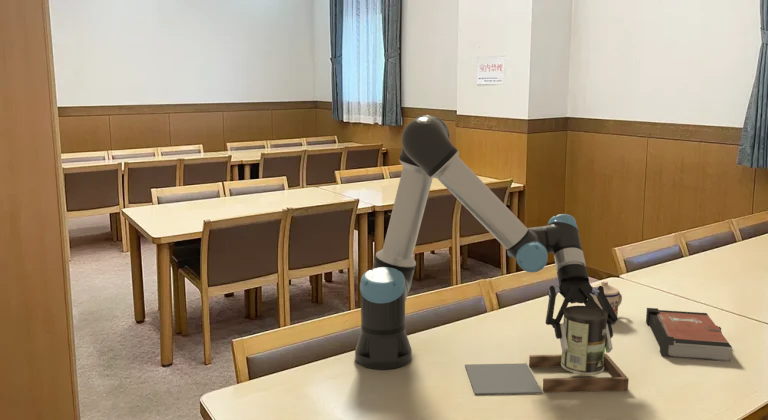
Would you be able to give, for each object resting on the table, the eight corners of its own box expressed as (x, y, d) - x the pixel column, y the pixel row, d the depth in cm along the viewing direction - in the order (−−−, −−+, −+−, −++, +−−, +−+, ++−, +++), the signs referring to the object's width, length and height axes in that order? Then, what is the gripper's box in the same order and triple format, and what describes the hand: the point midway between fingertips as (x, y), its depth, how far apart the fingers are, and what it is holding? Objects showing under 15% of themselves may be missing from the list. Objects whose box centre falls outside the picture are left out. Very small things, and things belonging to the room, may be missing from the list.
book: (733, 363, 169) (735, 345, 168) (661, 358, 173) (663, 340, 172) (707, 327, 194) (709, 311, 193) (645, 323, 198) (646, 307, 197)
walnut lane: (543, 392, 153) (544, 380, 153) (529, 365, 168) (529, 355, 167) (627, 390, 154) (628, 378, 153) (605, 364, 168) (606, 353, 168)
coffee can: (601, 359, 164) (604, 306, 161) (606, 377, 154) (610, 321, 152) (559, 356, 166) (562, 303, 164) (561, 373, 156) (564, 318, 154)
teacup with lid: (602, 324, 196) (604, 287, 194) (581, 315, 204) (582, 279, 202) (631, 318, 201) (633, 282, 199) (609, 309, 209) (611, 274, 207)
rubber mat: (474, 394, 152) (474, 393, 152) (464, 365, 168) (465, 364, 168) (542, 393, 153) (542, 392, 153) (526, 364, 168) (526, 363, 168)
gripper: (610, 275, 172) (628, 356, 160) (525, 276, 172) (537, 356, 159) (619, 262, 166) (639, 344, 153) (531, 262, 165) (544, 344, 153)
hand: (587, 350), depth 156 cm, fingers closed on coffee can, 10 cm apart
